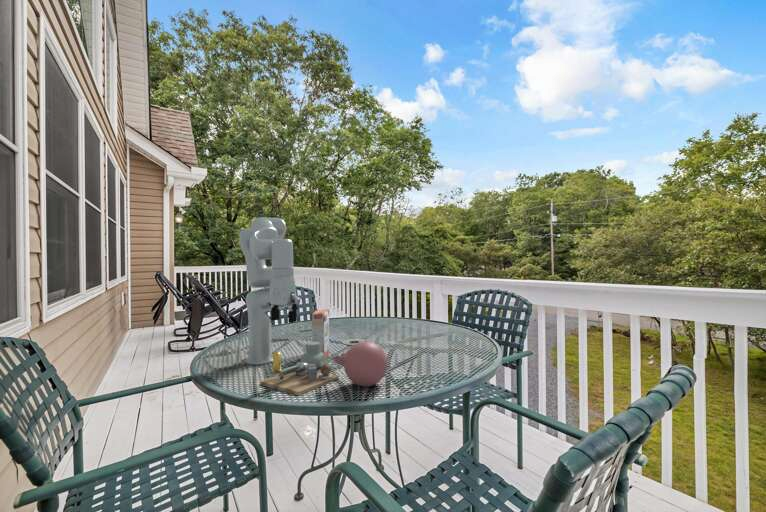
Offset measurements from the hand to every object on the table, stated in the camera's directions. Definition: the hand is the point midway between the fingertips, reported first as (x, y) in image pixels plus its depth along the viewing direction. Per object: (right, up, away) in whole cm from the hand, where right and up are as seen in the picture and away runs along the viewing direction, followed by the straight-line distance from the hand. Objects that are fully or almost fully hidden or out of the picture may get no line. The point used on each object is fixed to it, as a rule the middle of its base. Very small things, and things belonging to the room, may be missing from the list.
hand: (283, 321), depth 133 cm
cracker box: (+7, -23, +39) cm, 46 cm away
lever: (+1, -20, +4) cm, 20 cm away
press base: (+5, -23, +4) cm, 24 cm away
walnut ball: (+14, -21, +5) cm, 26 cm away
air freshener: (+7, -23, +22) cm, 33 cm away
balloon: (+27, -23, 0) cm, 36 cm away
